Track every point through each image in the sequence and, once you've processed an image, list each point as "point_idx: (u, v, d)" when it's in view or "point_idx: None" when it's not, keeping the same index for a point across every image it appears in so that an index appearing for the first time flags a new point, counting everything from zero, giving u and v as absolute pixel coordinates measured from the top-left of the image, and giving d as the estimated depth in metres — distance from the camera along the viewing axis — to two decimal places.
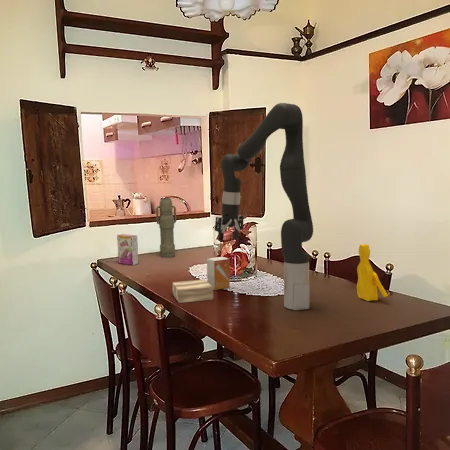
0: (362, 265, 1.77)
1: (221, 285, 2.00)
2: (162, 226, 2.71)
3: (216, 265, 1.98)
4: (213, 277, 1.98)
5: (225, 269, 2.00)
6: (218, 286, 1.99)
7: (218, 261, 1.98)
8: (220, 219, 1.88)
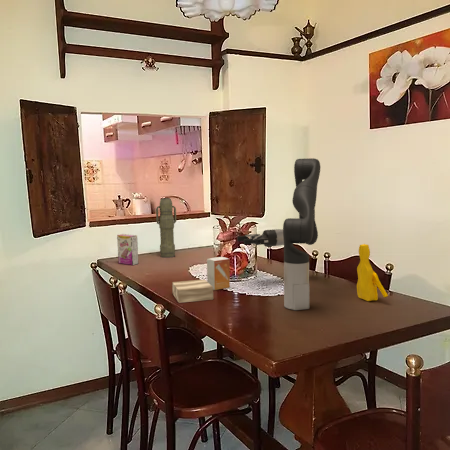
0: (362, 265, 1.77)
1: (221, 285, 2.00)
2: (162, 226, 2.71)
3: (216, 265, 1.98)
4: (213, 277, 1.98)
5: (225, 269, 2.00)
6: (218, 286, 1.99)
7: (218, 261, 1.98)
8: (255, 234, 2.12)
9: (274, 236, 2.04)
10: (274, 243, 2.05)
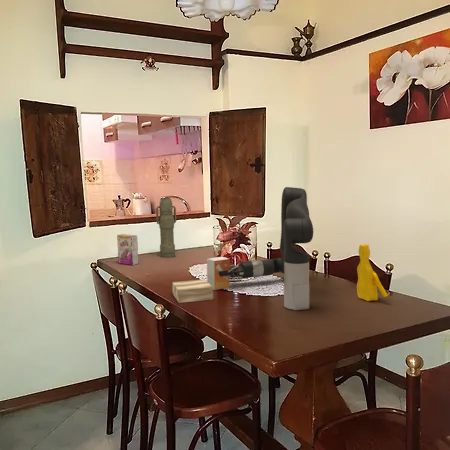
0: (362, 265, 1.77)
1: (221, 285, 2.00)
2: (162, 226, 2.71)
3: (216, 265, 1.98)
4: (213, 277, 1.98)
5: (225, 269, 2.00)
6: (218, 286, 1.99)
7: (218, 261, 1.98)
8: (233, 264, 2.11)
9: (250, 268, 2.02)
10: (250, 275, 2.03)
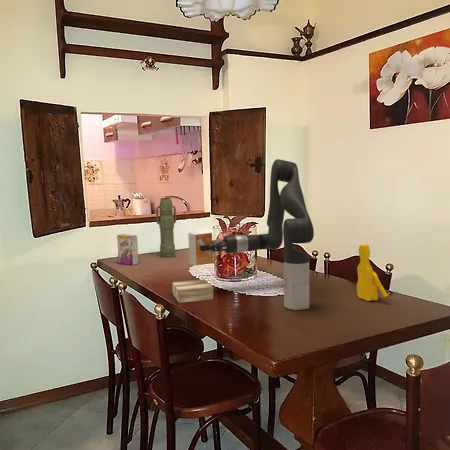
0: (362, 265, 1.77)
1: (203, 260, 1.90)
2: (162, 226, 2.71)
3: (198, 239, 1.87)
4: (194, 252, 1.88)
5: (208, 244, 1.90)
6: (200, 262, 1.89)
7: (200, 235, 1.88)
8: (216, 240, 2.00)
9: (234, 242, 1.92)
10: (234, 250, 1.93)
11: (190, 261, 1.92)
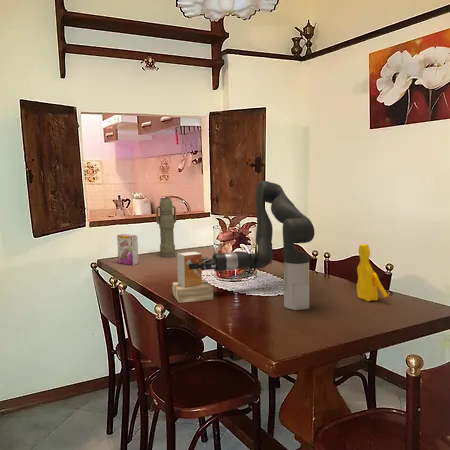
0: (362, 265, 1.77)
1: (192, 282, 1.85)
2: (162, 226, 2.71)
3: (187, 260, 1.83)
4: (183, 273, 1.84)
5: None
6: (189, 283, 1.85)
7: (189, 256, 1.83)
8: (206, 257, 1.96)
9: (223, 260, 1.88)
10: (224, 268, 1.89)
11: (179, 282, 1.88)
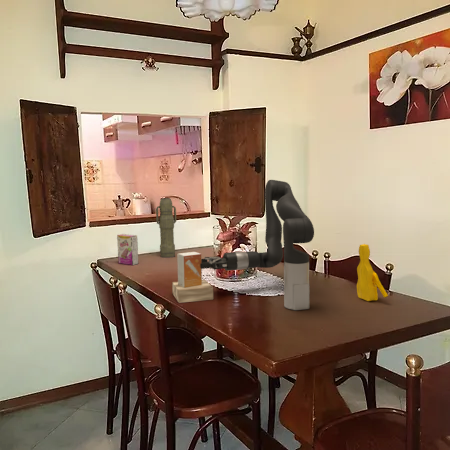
0: (362, 265, 1.77)
1: (191, 282, 1.85)
2: (162, 226, 2.71)
3: (186, 260, 1.83)
4: (182, 273, 1.84)
5: (197, 265, 1.86)
6: (188, 283, 1.85)
7: (188, 256, 1.83)
8: (216, 256, 1.97)
9: (234, 259, 1.89)
10: (234, 267, 1.90)
11: (179, 282, 1.88)
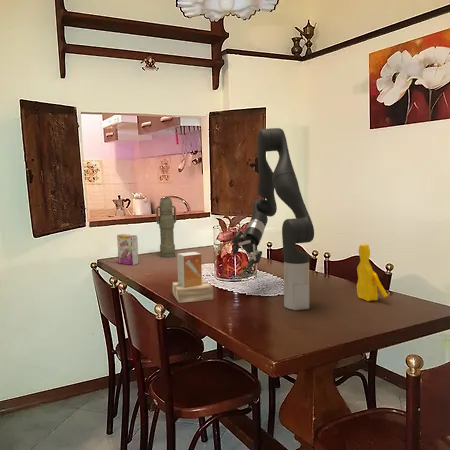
0: (362, 265, 1.77)
1: (191, 282, 1.85)
2: (162, 226, 2.71)
3: (186, 260, 1.83)
4: (182, 273, 1.84)
5: (197, 265, 1.86)
6: (188, 283, 1.85)
7: (188, 256, 1.83)
8: (240, 232, 1.86)
9: None
10: None
11: (179, 282, 1.88)
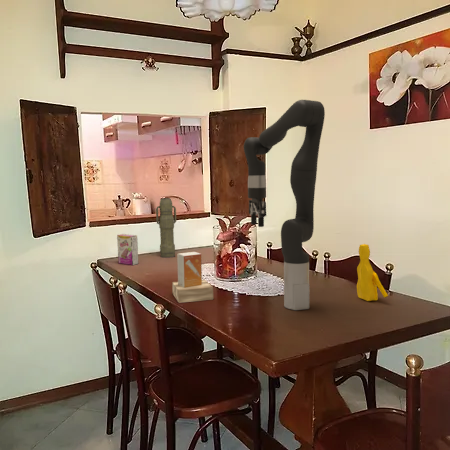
0: (362, 265, 1.77)
1: (191, 282, 1.85)
2: (162, 226, 2.71)
3: (186, 260, 1.83)
4: (182, 273, 1.84)
5: (197, 265, 1.86)
6: (188, 283, 1.85)
7: (188, 256, 1.83)
8: None
9: None
10: None
11: (179, 282, 1.88)
